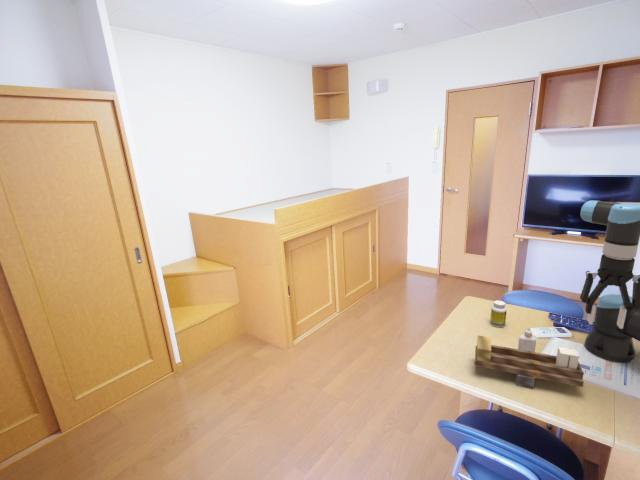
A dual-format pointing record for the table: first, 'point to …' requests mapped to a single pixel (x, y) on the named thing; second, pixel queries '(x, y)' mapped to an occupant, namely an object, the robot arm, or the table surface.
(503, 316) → the pill bottle
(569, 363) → the block
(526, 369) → the beam
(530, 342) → the white rectangular bottle
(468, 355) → the table surface
